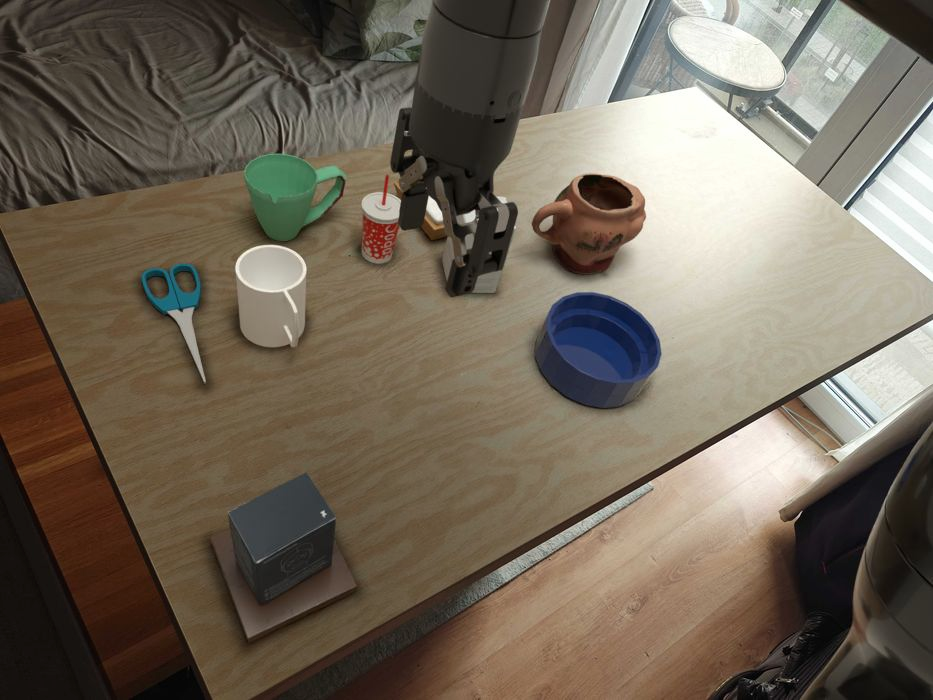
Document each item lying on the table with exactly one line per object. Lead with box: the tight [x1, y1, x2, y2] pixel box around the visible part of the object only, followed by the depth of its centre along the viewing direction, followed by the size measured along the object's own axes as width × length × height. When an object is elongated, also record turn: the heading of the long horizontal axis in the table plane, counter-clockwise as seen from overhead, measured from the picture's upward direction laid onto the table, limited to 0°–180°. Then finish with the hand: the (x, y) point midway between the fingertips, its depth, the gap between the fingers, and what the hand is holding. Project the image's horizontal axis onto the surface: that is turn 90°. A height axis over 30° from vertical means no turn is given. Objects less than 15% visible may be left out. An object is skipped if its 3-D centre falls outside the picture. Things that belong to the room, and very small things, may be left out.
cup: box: [234, 244, 307, 348], centre depth 82 cm, size 8×12×10 cm
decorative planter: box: [531, 172, 647, 275], centre depth 103 cm, size 20×12×14 cm, turn 116°
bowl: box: [534, 291, 662, 409], centre depth 92 cm, size 16×16×6 cm
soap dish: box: [393, 180, 448, 241], centre depth 106 cm, size 12×10×5 cm
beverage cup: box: [360, 174, 401, 265], centre depth 94 cm, size 6×6×14 cm
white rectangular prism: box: [441, 195, 517, 294], centre depth 96 cm, size 7×7×13 cm
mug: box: [243, 153, 347, 242], centre depth 96 cm, size 15×10×10 cm
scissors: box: [141, 263, 207, 385], centre depth 83 cm, size 7×1×20 cm
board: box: [210, 528, 358, 644], centre depth 66 cm, size 11×11×2 cm
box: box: [227, 472, 337, 605], centre depth 62 cm, size 8×6×11 cm
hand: (433, 258), depth 56 cm, fingers open, 8 cm apart
